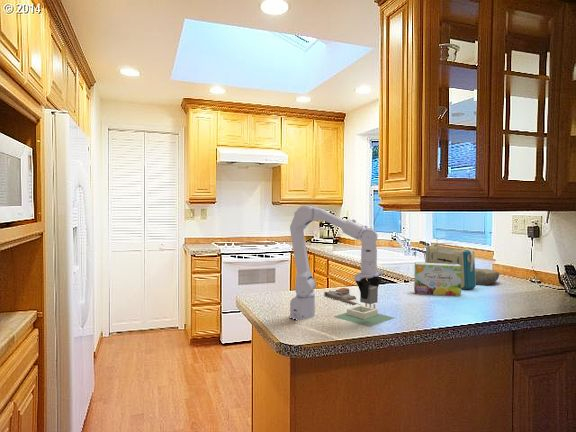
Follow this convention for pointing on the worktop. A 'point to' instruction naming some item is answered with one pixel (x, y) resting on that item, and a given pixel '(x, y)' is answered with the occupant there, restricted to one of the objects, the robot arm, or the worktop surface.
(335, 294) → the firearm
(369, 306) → the pin header
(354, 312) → the socket
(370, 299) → the plug
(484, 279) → the stone
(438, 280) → the snack box
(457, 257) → the radio
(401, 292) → the worktop surface
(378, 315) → the board
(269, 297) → the worktop surface
